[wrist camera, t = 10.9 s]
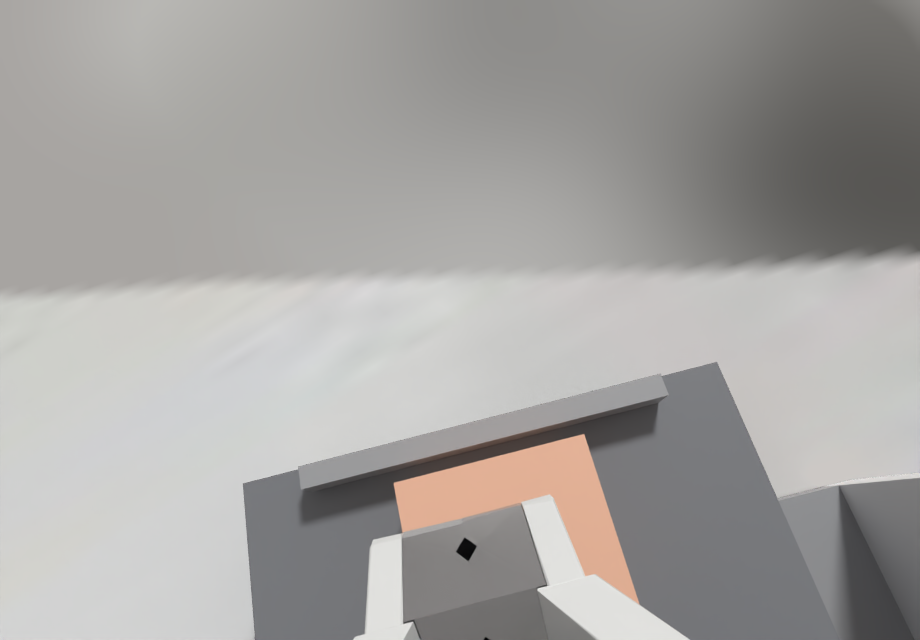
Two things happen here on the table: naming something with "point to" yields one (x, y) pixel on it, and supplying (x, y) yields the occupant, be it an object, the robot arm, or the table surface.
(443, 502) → the terracotta key
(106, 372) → the table surface
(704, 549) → the key console
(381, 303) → the table surface
